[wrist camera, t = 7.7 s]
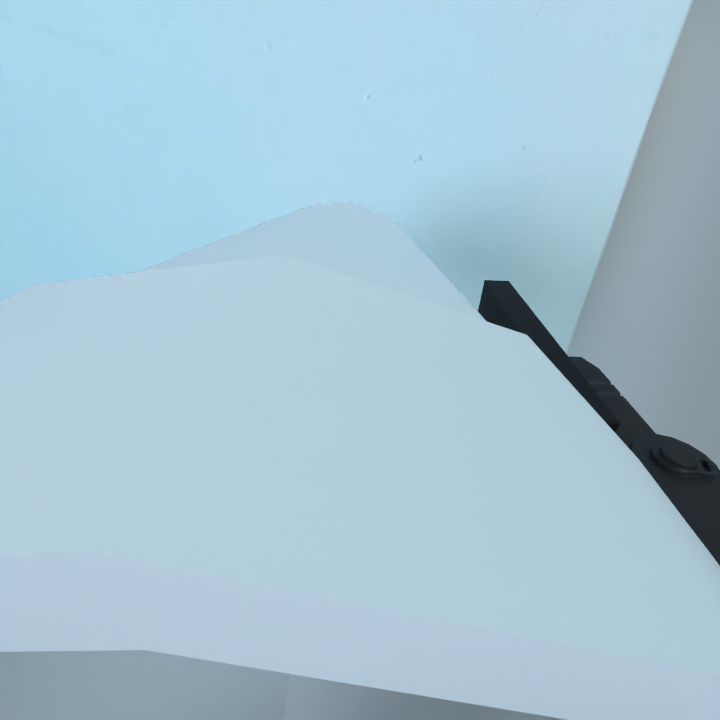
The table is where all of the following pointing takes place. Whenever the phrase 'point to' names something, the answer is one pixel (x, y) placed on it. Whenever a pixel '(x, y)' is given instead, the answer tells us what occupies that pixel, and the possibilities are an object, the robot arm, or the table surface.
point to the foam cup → (325, 502)
